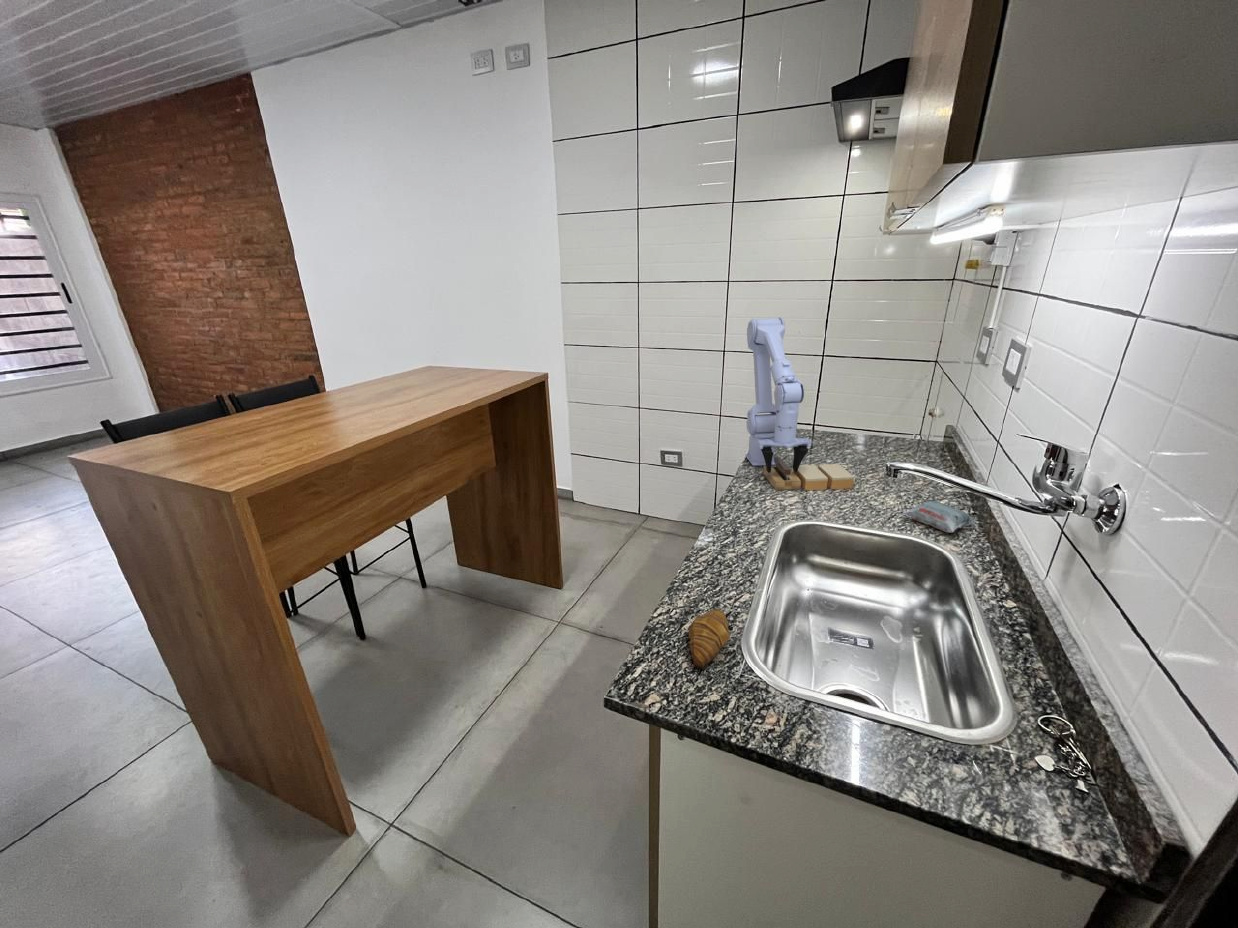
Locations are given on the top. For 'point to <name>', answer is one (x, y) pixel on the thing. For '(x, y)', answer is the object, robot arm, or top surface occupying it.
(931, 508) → the packaged food
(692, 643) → the croissant
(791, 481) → the knife block
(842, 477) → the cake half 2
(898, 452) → the top surface
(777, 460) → the knife
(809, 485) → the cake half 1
